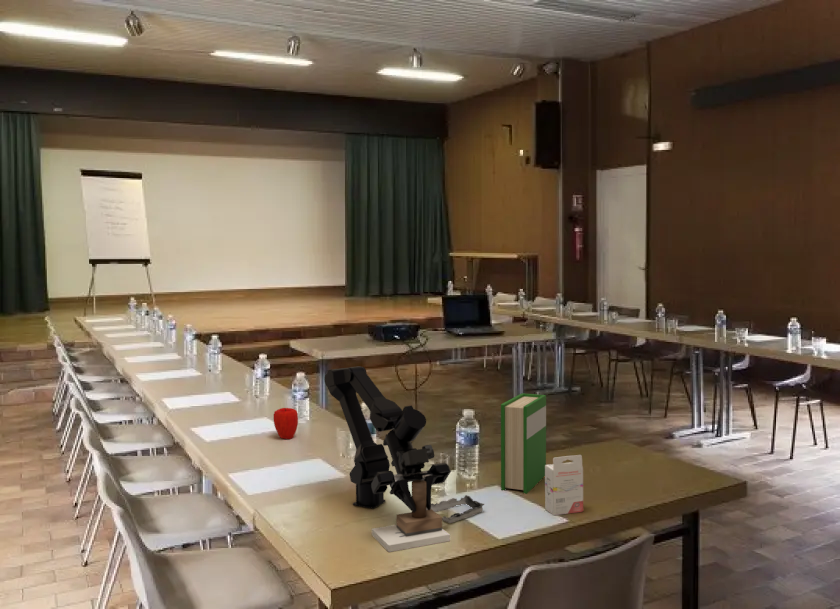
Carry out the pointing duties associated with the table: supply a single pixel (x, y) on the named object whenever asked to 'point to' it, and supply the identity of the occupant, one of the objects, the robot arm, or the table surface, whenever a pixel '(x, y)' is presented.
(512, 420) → the hardback book
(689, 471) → the table surface
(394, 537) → the primed board
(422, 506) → the brown wooden peg block
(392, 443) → the robot arm
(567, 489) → the ink cartridge box
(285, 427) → the apple
